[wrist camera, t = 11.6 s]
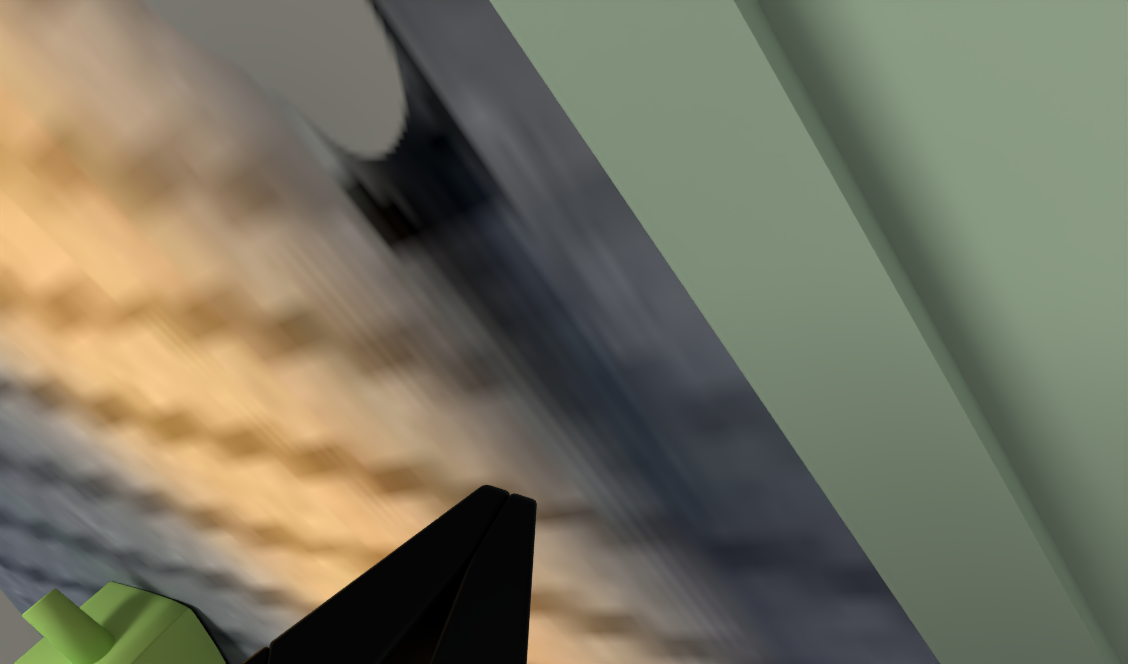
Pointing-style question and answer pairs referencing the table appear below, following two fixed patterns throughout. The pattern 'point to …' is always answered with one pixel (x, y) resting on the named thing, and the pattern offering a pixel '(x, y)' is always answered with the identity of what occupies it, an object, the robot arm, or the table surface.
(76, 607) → the gearbox
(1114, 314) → the sliding lid
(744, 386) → the table surface
